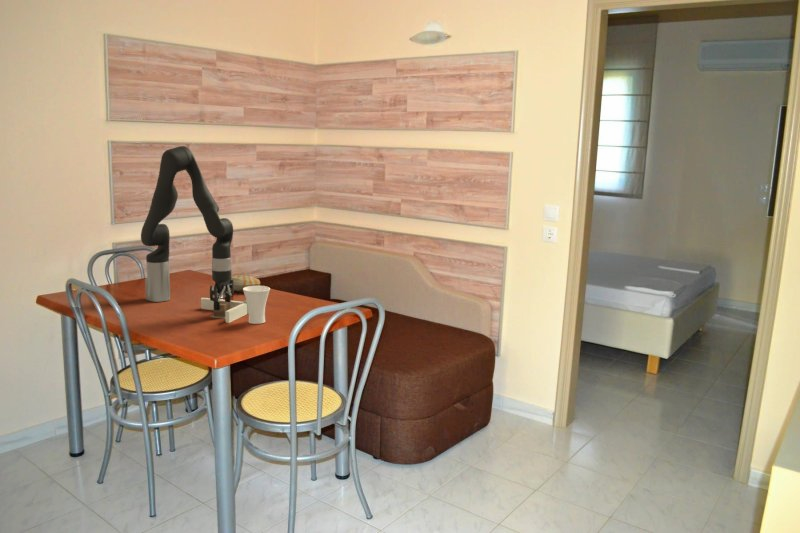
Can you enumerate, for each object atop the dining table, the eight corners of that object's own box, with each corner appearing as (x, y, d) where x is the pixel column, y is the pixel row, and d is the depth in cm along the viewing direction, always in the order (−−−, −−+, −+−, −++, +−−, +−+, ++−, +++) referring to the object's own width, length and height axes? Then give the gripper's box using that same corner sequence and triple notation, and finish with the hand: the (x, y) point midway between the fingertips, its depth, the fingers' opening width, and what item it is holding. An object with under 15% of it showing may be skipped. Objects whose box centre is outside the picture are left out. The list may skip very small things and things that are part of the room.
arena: (180, 317, 264) (180, 304, 263) (203, 307, 279) (203, 295, 278) (229, 322, 258) (229, 310, 257) (249, 312, 273) (249, 300, 272)
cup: (257, 327, 254) (256, 292, 251) (237, 322, 259) (236, 288, 256) (276, 321, 262) (275, 288, 260) (256, 316, 268) (256, 284, 265)
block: (224, 317, 265) (224, 305, 264) (213, 316, 266) (213, 304, 265) (231, 314, 270) (231, 302, 269) (220, 313, 271) (220, 301, 270)
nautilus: (212, 289, 315) (239, 286, 326) (237, 294, 301) (265, 291, 312) (212, 272, 314) (239, 270, 325) (237, 277, 300) (265, 274, 311)
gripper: (220, 272, 257) (221, 313, 260) (239, 266, 270) (239, 304, 273) (203, 271, 259) (204, 311, 262) (222, 264, 272) (223, 302, 275)
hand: (222, 307), depth 268 cm, fingers open, 8 cm apart
